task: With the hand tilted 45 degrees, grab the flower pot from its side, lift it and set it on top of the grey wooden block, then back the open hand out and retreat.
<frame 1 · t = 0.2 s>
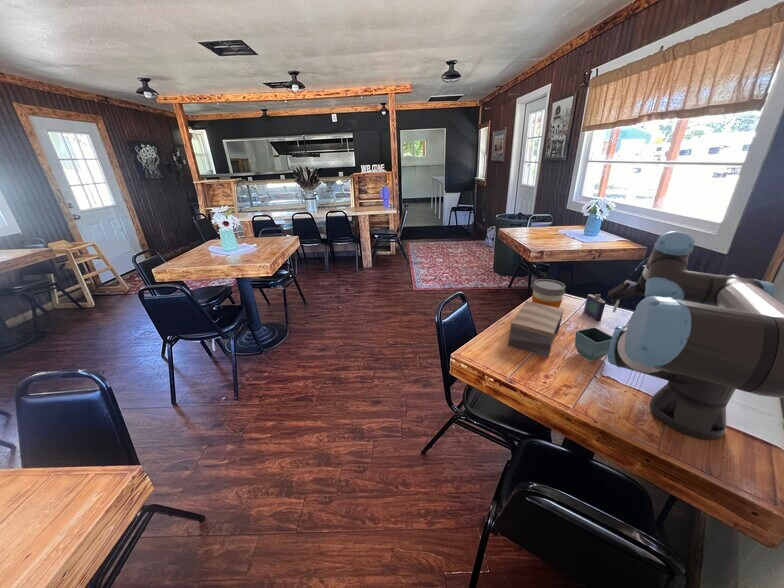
hand: (638, 314, 108), 15 cm above the table, tool tilted 35°, fingers open, 13 cm apart
flask: (591, 317, 138), on the table
grey wooden block: (534, 338, 123), on the table
flower pot: (589, 356, 112), on the table
reusable coffee cup: (543, 315, 140), on the table
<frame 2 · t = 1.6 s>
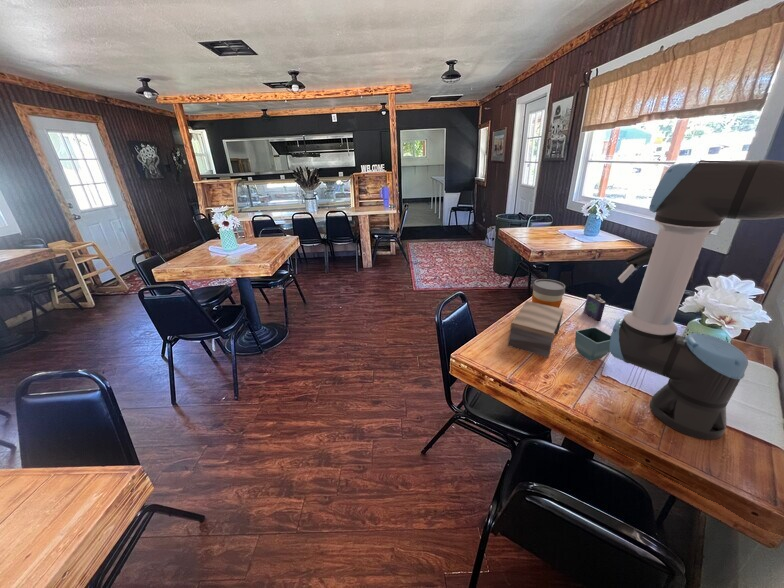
hand: (638, 287, 105), 24 cm above the table, tool tilted 45°, fingers open, 13 cm apart
nothing on the table moved.
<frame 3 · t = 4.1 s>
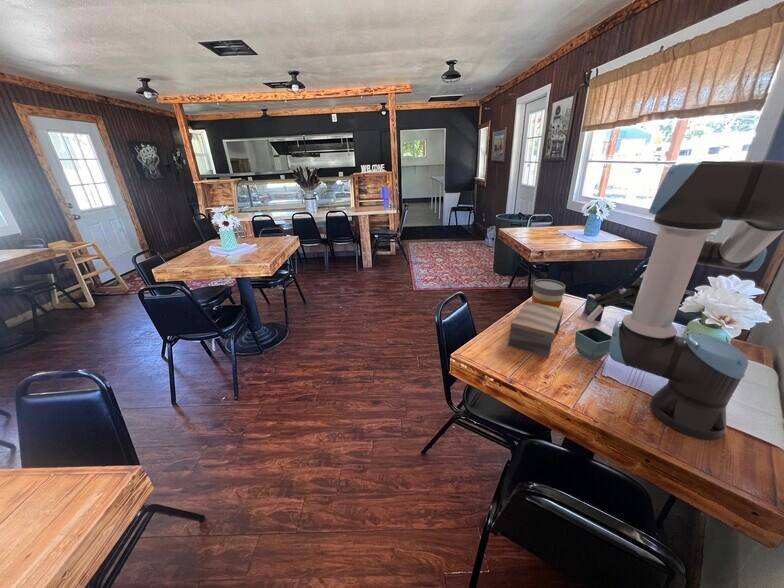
hand: (605, 329, 110), 10 cm above the table, tool tilted 45°, fingers open, 13 cm apart
nothing on the table moved.
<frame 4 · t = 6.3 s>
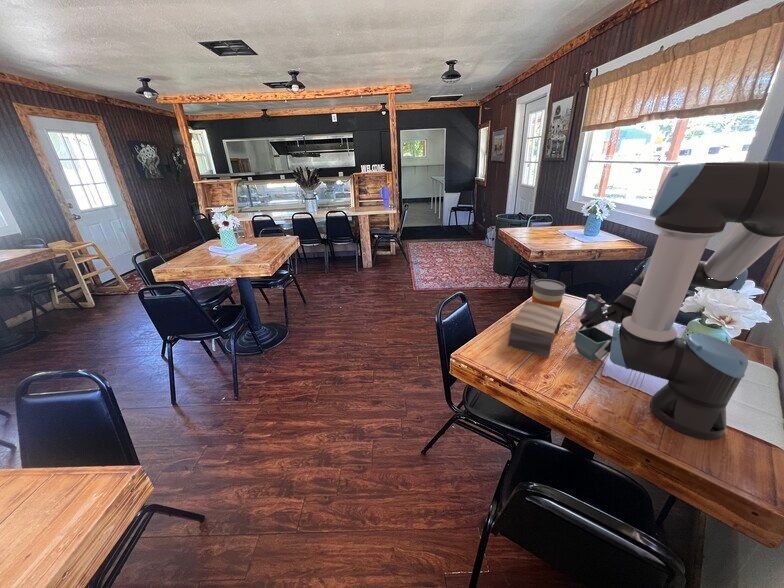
hand: (585, 349, 109), 4 cm above the table, tool tilted 45°, fingers closed on flower pot, 9 cm apart
flower pot: (589, 356, 112), on the table, touching gripper
everything else where it was.
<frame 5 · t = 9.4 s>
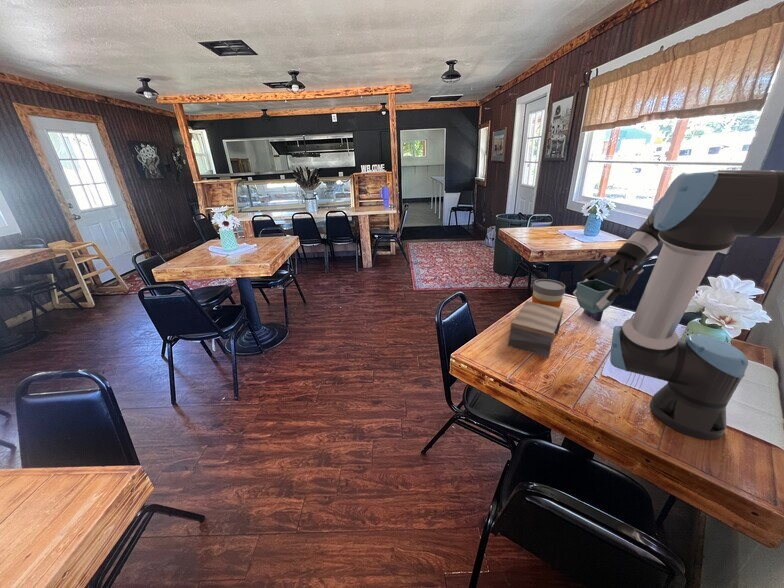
hand: (586, 300, 105), 21 cm above the table, tool tilted 45°, fingers closed on flower pot, 9 cm apart
flower pot: (591, 309, 108), point 17 cm above the table, touching gripper
everything else where it was.
when the fingers open (15 cm above the table, at t = 12.3 s): flower pot drops 1 cm, resting on grey wooden block.
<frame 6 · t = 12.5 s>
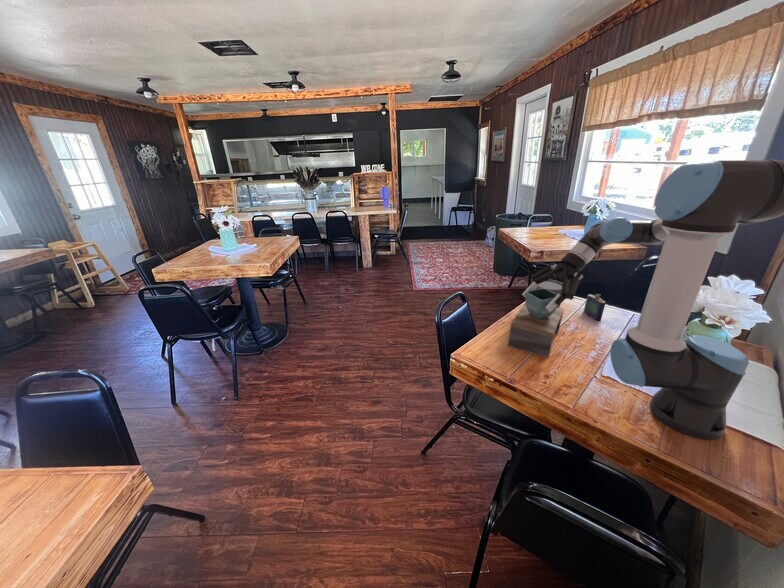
hand: (535, 302, 116), 16 cm above the table, tool tilted 45°, fingers open, 11 cm apart
flower pot: (539, 315, 119), point 10 cm above the table, touching grey wooden block
everything else where it was.
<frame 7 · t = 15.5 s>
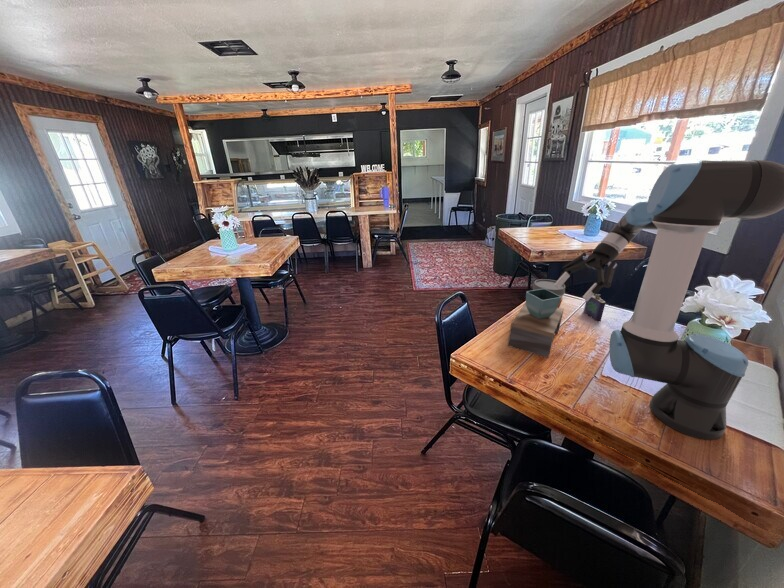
hand: (569, 292, 118), 18 cm above the table, tool tilted 45°, fingers open, 13 cm apart
nothing on the table moved.
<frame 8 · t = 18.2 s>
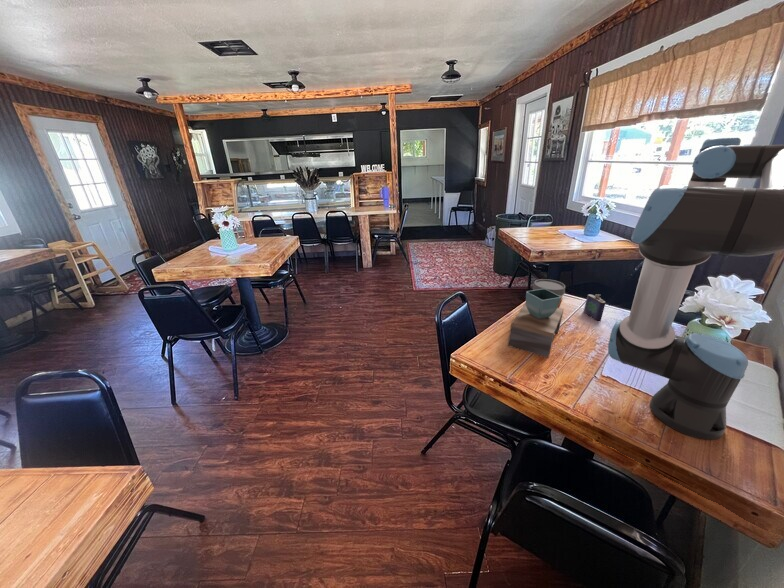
hand: (675, 265, 100), 33 cm above the table, tool pointing down, fingers open, 13 cm apart
nothing on the table moved.
at the end: flower pot inside the target area on the grey wooden block (0.3 cm from its centre), point 9.8 cm above the grey wooden block's base; flower pot tilted 0°; the gripper is holding nothing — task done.
